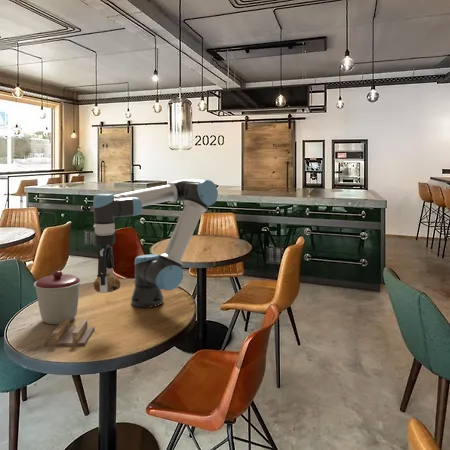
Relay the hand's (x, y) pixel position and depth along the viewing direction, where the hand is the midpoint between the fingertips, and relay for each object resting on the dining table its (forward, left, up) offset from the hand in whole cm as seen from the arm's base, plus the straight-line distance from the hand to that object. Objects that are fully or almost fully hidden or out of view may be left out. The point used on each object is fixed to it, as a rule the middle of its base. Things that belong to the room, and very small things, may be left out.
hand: (107, 288), depth 156 cm
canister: (+21, -7, -16) cm, 28 cm away
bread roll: (0, 0, -1) cm, 1 cm away
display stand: (+11, +10, -16) cm, 22 cm away
